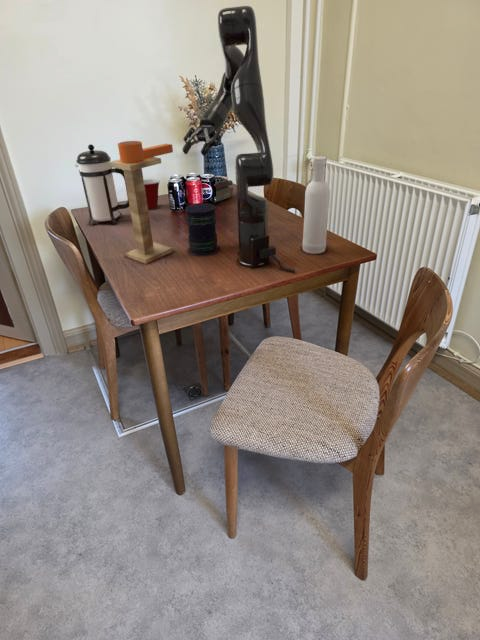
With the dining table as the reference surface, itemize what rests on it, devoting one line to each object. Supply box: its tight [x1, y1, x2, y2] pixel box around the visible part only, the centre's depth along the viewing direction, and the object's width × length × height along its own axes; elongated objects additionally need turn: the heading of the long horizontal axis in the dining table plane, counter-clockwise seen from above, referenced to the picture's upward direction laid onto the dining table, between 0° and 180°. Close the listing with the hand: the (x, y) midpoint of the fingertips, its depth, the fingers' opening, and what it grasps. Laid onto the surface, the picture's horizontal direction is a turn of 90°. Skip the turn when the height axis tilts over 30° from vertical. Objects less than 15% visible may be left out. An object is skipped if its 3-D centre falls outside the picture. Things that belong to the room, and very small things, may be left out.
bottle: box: [302, 155, 331, 255], centre depth 136 cm, size 8×8×30 cm
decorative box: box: [204, 175, 234, 204], centre depth 192 cm, size 13×20×10 cm, turn 134°
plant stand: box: [109, 156, 173, 265], centre depth 136 cm, size 12×10×31 cm
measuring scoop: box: [117, 140, 174, 163], centre depth 130 cm, size 19×7×5 cm, turn 141°
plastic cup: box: [143, 178, 161, 211], centre depth 187 cm, size 11×11×12 cm
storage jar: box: [185, 202, 218, 256], centre depth 143 cm, size 10×10×15 cm
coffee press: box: [74, 144, 130, 226], centre depth 169 cm, size 17×16×30 cm
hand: (193, 153), depth 146 cm, fingers open, 8 cm apart
